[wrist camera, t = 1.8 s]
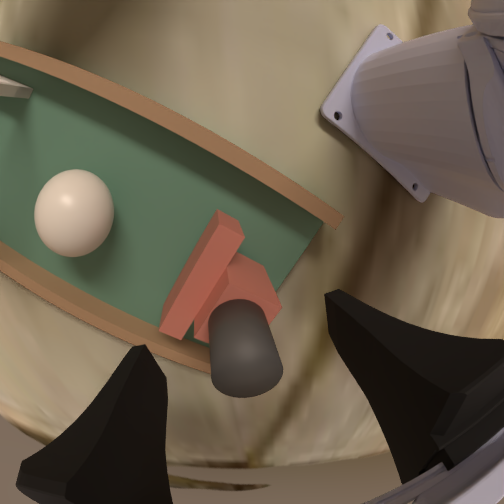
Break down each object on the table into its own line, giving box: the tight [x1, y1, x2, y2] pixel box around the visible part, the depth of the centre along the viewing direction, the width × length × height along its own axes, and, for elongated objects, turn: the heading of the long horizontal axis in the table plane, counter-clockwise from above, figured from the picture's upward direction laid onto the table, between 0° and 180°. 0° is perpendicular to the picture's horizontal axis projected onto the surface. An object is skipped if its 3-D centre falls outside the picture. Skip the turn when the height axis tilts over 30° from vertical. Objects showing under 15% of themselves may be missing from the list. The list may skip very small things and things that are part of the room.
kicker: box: [159, 209, 283, 398], centre depth 12 cm, size 4×6×7 cm, turn 148°
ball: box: [34, 169, 114, 257], centre depth 11 cm, size 4×4×4 cm
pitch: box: [0, 41, 344, 374], centre depth 13 cm, size 24×12×2 cm, turn 58°
